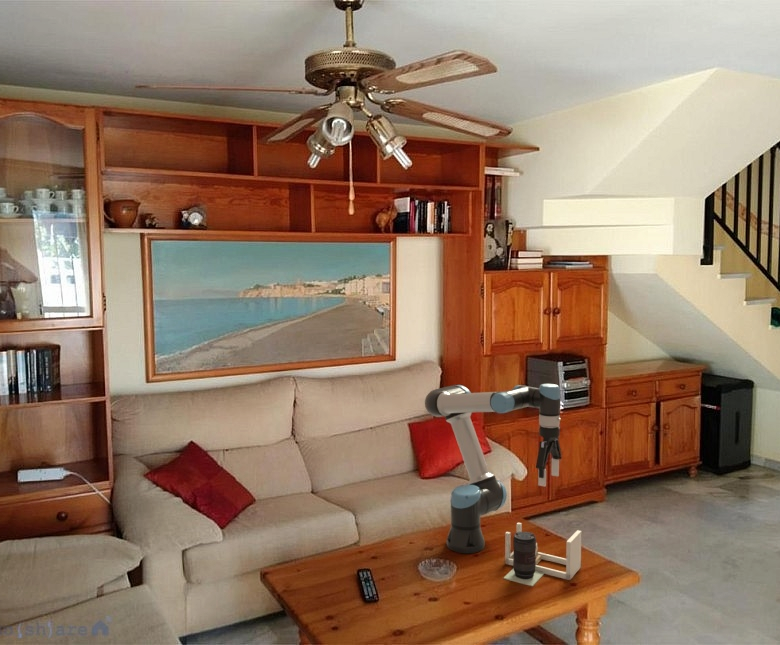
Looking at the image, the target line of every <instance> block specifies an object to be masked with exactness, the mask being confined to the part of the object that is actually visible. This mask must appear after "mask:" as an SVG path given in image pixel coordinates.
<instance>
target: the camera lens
mask: <svg viewBox="0 0 780 645" xmlns="http://www.w3.org/2000/svg"><path fill="white" fill-rule="evenodd" d="M512 541H513V542H512V549H513V551H514V559H513V568H514V571H515V576H516V577H518V578H520V579H531V578H533V576H534V573H535V567H536V561H535V560H536V556H535V551H536V543H537V539H536V535H535V533H532V532H530V531H522V532H517V533H516V532H515V533H514V534H513V538H512Z"/></svg>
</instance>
